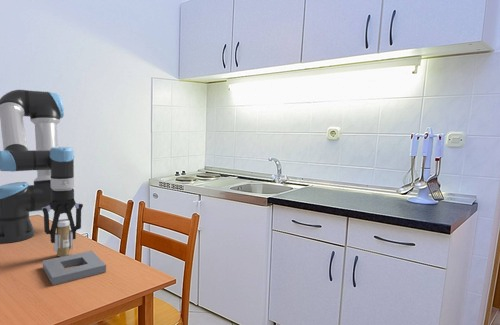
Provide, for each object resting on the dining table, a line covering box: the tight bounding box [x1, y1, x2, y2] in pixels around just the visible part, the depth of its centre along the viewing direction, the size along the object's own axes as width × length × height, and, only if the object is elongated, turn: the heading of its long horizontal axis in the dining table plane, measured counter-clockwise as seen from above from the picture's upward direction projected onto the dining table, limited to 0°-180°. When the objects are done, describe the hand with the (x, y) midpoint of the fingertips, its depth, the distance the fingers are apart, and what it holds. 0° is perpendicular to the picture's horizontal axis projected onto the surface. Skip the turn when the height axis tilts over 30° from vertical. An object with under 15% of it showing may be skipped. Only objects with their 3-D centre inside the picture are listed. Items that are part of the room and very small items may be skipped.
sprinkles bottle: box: [56, 218, 71, 257], centre depth 122 cm, size 5×5×14 cm
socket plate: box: [42, 250, 107, 286], centre depth 112 cm, size 16×16×2 cm
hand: (63, 249), depth 123 cm, fingers closed on sprinkles bottle, 4 cm apart
